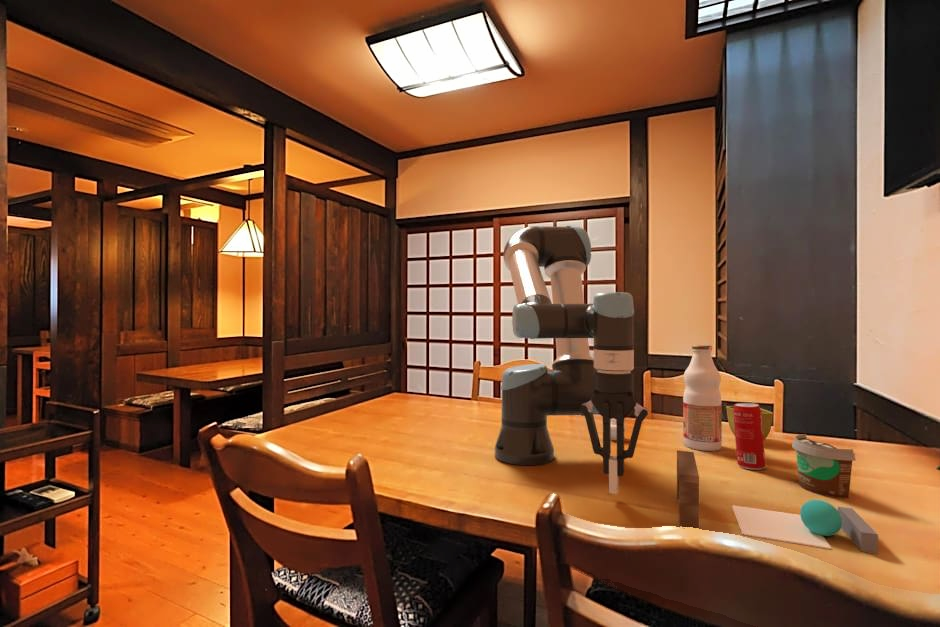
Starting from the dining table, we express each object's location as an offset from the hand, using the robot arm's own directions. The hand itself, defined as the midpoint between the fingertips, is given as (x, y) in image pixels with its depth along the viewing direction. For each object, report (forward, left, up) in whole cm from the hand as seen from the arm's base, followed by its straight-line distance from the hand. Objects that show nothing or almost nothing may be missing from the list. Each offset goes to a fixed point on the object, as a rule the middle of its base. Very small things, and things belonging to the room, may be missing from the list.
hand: (613, 491), depth 89 cm
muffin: (-4, +46, -2) cm, 46 cm away
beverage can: (+28, +33, -2) cm, 43 cm away
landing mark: (+27, 0, -2) cm, 27 cm away
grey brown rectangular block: (+13, 0, -2) cm, 13 cm away
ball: (+33, -1, +1) cm, 33 cm away
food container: (+38, +22, -2) cm, 44 cm away
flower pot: (+32, +59, -2) cm, 67 cm away
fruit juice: (+19, +47, -2) cm, 51 cm away
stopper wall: (+38, 0, -2) cm, 38 cm away
